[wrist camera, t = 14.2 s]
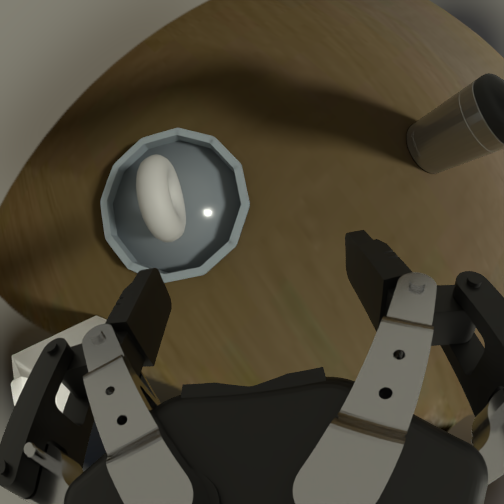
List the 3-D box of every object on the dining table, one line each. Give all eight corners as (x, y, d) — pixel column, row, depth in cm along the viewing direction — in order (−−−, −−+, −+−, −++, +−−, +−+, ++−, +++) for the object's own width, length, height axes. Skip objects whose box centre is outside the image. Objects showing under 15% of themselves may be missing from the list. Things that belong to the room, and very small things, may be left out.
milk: (92, 349, 35) (-1, 414, 13) (96, 314, 35) (-11, 364, 13) (126, 364, 35) (43, 448, 13) (131, 328, 35) (34, 399, 13)
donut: (155, 172, 34) (126, 147, 24) (179, 165, 34) (158, 136, 24) (168, 246, 34) (140, 245, 24) (194, 239, 34) (175, 236, 24)
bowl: (231, 126, 35) (230, 116, 32) (260, 261, 35) (262, 262, 32) (106, 160, 34) (96, 153, 31) (125, 288, 35) (115, 292, 32)
